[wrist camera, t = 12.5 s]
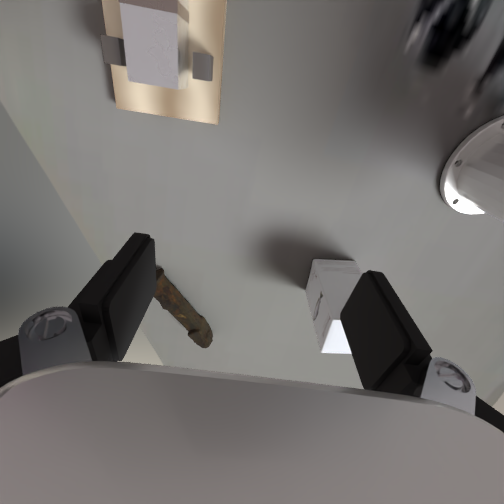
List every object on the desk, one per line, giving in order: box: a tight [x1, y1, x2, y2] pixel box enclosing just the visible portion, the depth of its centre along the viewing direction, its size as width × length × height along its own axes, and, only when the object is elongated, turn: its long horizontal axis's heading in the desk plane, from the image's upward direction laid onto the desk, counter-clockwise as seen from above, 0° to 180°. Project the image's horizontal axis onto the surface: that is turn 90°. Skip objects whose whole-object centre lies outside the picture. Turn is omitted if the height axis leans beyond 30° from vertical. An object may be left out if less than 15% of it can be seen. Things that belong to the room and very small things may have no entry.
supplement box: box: [306, 259, 362, 354], centre depth 38 cm, size 7×7×13 cm
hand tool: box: [154, 269, 213, 348], centre depth 46 cm, size 19×4×5 cm, turn 24°
